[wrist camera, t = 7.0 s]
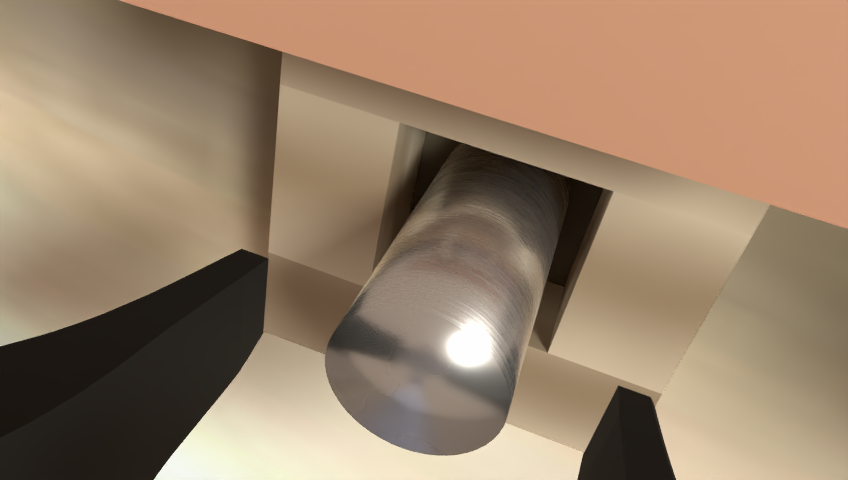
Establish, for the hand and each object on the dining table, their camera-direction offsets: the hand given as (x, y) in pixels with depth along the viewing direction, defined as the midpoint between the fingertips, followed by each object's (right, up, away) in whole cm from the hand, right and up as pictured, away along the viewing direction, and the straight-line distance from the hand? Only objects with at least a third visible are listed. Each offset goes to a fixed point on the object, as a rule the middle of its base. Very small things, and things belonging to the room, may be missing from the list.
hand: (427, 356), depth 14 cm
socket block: (+2, +4, +6) cm, 7 cm away
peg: (+2, +4, +6) cm, 7 cm away
